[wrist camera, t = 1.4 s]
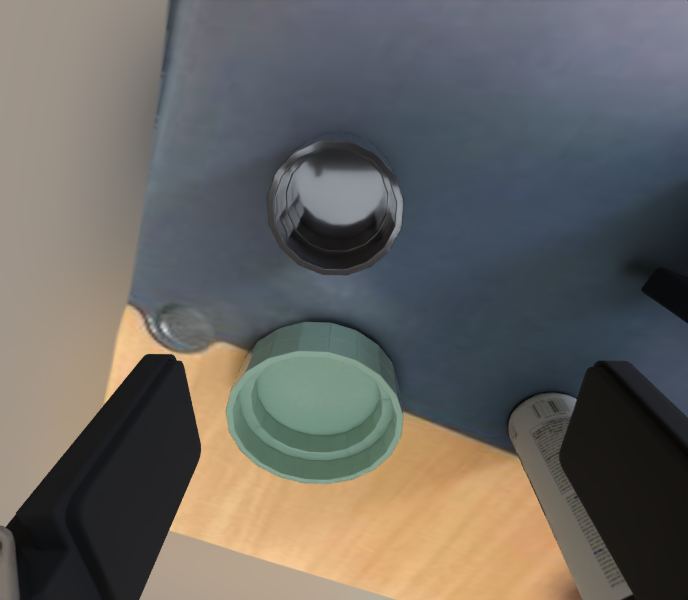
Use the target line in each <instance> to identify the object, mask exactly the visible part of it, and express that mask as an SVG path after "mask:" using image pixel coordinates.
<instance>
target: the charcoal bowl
mask: <svg viewBox="0 0 688 600" xmlns="http://www.w3.org/2000/svg"><path fill="white" fill-rule="evenodd" d="M403 207H404V199H403V196H402V193H401V190H400V187H399V184H398V181H397V178H396V175H395V173H394V171H393V169H392V167H391V165H390V163H389V161H388V160H387V159H386V157H385V156H384V155H383V154H382V153H381V152H380V151H379V149H378V148H377V147H376V146H375V145H374V144H373V143H371V142H369V141H367V140H365V139H363V138H361V137H359V136H356V135H354V134H352V133H324V134H322V135H320V136H317V137H315V138H313V139H310V140H308V141H306V142H304V143H303V144H302V145H301V146H300V147H299V148H298V149H297V150H295V151H294V152H293V153H292V155H291V156H290V157H289V158H288V159H287V160H286V161H285V162H284V163H283V164H282V165H281V167H280V168H279V169H278V170H277V171H276V173H275V175H274V178H273V181H272V184H271V187H270V189H269V192H268V195H267V210H268V223H269V226H270V228H271V230H272V232H273V235H274V237H275V239H276V241H277V243H278V245H279V247H280V248H281V249H282V250H283V251H284V252H285V253H286V254H287V255H288V256H289V257H291V258H292V259H293V260H294V261H295V262H296V263H297V264H298V265H300V266H302V267H304V268H307V269H309V270H312V271H314V272H317V273H319V274H323V275H350V274H352V273H355V272H358V271H361V270H364V269H366V268H369V267H371V266H373V265H374V264H375V263H376V262H377V261H378V260H379V259H381V258H382V257H383V256H384V255H385V254H386V253H388V252H389V251H390V249H391V247H392V246H393V244H394V242H395V240H396V238H397V236H398V234H399V232H400V230H401V227H402V219H403Z"/></svg>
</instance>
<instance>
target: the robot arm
mask: <svg viewBox="0 0 688 600" xmlns="http://www.w3.org/2000/svg"><path fill="white" fill-rule="evenodd" d="M200 454H201V443H200V439H199V434H198V429H197V425H196V420H195V415H194V411H193V406H192V401H191V397H190V392H189V387H188V383H187V378H186V373H185V369H184V365H183V363H182V361H177V360H176V358H175V356H174V355H172V354H147V355H145V356H144V357H143V358H142V359H141V360H140V362H139V363H138V364H137V365H136V367H135V368H134V369H133V370H132V372H131V373H130V374H129V375H128V376H127V378H126V379H125V380H124V381H123V383H122V384H121V385H120V386H119V387H118V389H117V390H116V391H115V392H114V394H113V395H112V396H111V397H110V398H109V400H108V401H107V402H106V403H105V405H104V406H103V407H102V408H101V409H100V411H99V412H98V413H97V414H96V416H95V417H94V418H93V419H92V420H91V422H90V423H89V424H88V425H87V427H86V428H85V429H84V430H83V431H82V433H81V434H80V435H79V436H78V438H77V439H76V440H75V441H74V443H73V444H72V445H71V446H70V448H69V449H68V450H67V451H66V452H65V453H64V455H63V456H62V457H61V458H60V460H59V461H58V462H57V463H56V465H55V466H54V467H53V468H52V469H51V471H50V472H49V473H48V474H47V476H46V477H45V478H44V479H43V480H42V482H41V483H40V484H39V485H38V487H37V488H36V489H35V490H34V491H33V493H32V494H31V495H30V497H29V498H28V499H27V500H26V501H25V502H24V504H23V505H22V506H21V507H20V509H19V510H18V511H17V512H16V515H15V516H14V517H13V519H12V520H11V521H10V522H9V524H8V525H7V526H6V527H4V526H0V600H139V599H140V597H141V594H142V592H143V590H144V587H145V585H146V582H147V580H148V578H149V575H150V573H151V571H152V569H153V566H154V564H155V562H156V559H157V557H158V555H159V552H160V550H161V547H162V545H163V543H164V541H165V538H166V536H167V534H168V531H169V529H170V527H171V524H172V522H173V520H174V517H175V515H176V513H177V510H178V508H179V506H180V503H181V501H182V499H183V496H184V494H185V492H186V489H187V487H188V485H189V482H190V480H191V478H192V475H193V473H194V471H195V468H196V466H197V464H198V461H199V459H200ZM559 461H560V465H561V467H562V469H563V471H564V473H565V475H566V476H567V478H568V480H569V482H570V483H571V485H572V487H573V489H574V491H575V492H576V494H577V496H578V498H579V499H580V501H581V503H582V505H583V506H584V508H585V510H586V512H587V514H588V515H589V517H590V519H591V521H592V522H593V524H594V526H595V528H596V530H597V531H598V533H599V535H600V537H601V538H602V540H603V542H604V544H605V545H606V547H607V549H608V551H609V553H610V554H611V556H612V558H613V560H614V561H615V563H616V565H617V567H618V569H619V570H620V572H621V574H622V576H623V577H624V579H625V581H626V583H627V584H628V586H629V588H630V590H631V592H632V593H633V595H634V597H635V599H636V600H688V418H687V417H686V416H685V415H684V414H683V413H682V412H681V411H680V410H679V409H678V408H677V407H676V406H675V405H674V404H673V403H672V402H671V401H670V400H669V399H668V398H667V397H665V396H664V395H663V394H662V393H661V392H660V391H659V390H658V389H657V388H656V387H655V386H654V385H653V384H652V383H651V382H650V381H649V380H648V379H647V378H646V377H644V376H643V375H642V374H641V373H640V372H639V371H638V370H637V369H636V368H635V367H634V366H633V365H632V364H630V363H629V362H626V361H598V362H596V363H595V364H594V366H593V367H590V368H588V369H587V371H586V373H585V376H584V379H583V382H582V385H581V388H580V391H579V394H578V397H577V400H576V403H575V406H574V409H573V412H572V415H571V418H570V421H569V424H568V427H567V430H566V433H565V436H564V439H563V442H562V445H561V448H560V452H559Z"/></svg>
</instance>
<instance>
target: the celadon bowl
mask: <svg viewBox="0 0 688 600" xmlns="http://www.w3.org/2000/svg"><path fill="white" fill-rule="evenodd" d="M226 416H227V422H228V428H229V432H230V434H231V436H232V438H233V439H234V441H235V443H236V444H237V446H238V448H239V449H240V451H241V452H242V453H243V454H245V455H246V456H247V457H248V458H249V459H250V460H251V461H252V462H254V463H255V464H256V465H257V466H259V467H260V468H262V469H264V470H266V471H268V472H270V473H272V474H274V475H276V476H278V477H281V478H285V479H289V480H293V481H297V482H301V483H313V484H332V483H337V482H342V481H348V480H352V479H355V478H357V477H359V476H362V475H364V474H366V473H368V472H370V471H373V470H374V469H376V468H377V467H378V466H379V465H380V464H381V463H383V462H384V461H385V460H386V459H387V458H388V457H389V456H390V455H391V454H392V452H393V451H394V449H395V447H396V445H397V443H398V442H399V440H400V438H401V434H402V425H403V410H402V403H401V396H400V389H399V382H398V379H397V376H396V373H395V369H394V366H393V363H392V362H391V360H390V359H389V358H388V356H387V355H386V354H385V353H384V351H383V350H382V349H381V348H380V346H379V345H377V344H376V343H375V342H373V341H372V340H370V339H369V338H367V337H366V336H364V335H363V334H361V333H360V332H358V331H356V330H354V329H350V328H347V327H344V326H341V325H337V324H334V323H328V322H301V323H297V324H294V325H290V326H286V327H282V328H279V329H277V330H275V331H274V332H272V333H271V334H269V335H267V336H266V337H264V338H263V339H261V340H259V341H258V342H257V343H256V344H255V346H254V347H253V348H252V350H251V351H250V352H249V353H248V355H247V356H246V357H245V359H244V361H243V364H242V366H241V368H240V371H239V373H238V375H237V378H236V380H235V382H234V385H233V387H232V389H231V393H230V396H229V400H228V404H227V408H226Z"/></svg>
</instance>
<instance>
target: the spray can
mask: <svg viewBox="0 0 688 600" xmlns="http://www.w3.org/2000/svg"><path fill="white" fill-rule="evenodd" d="M576 400H577V399H575V398H574V397H572V396H570V395H566V394H560V393H542V394H537V395H535V396H533V397H531V398H530V399H528V400H526V401H524V402H523V403H521V404H520V405H519V406H518V407H517V408H516V409H515V410H514V411H513V412H512V414H511V417H510V419H509V436H510V439H511V441H512V443H513V446H514V448H515V450H516V452H517V455H518V457H519V459H520V461H521V464H522V466H523V469H524V471H525V472H526V474H527V476H528V479H529V481H530V483H531V485H532V488H533V490H534V492H535V494H536V496H537V499H538V501H539V503H540V505H541V508H542V510H543V512H544V514H545V516H546V519H547V521H548V523H549V525H550V528H551V530H552V532H553V534H554V537H555V539H556V541H557V543H558V546H559V548H560V550H561V552H562V555H563V557H564V559H565V561H566V563H567V566H568V568H569V570H570V573H571V575H572V577H573V579H574V581H575V584H576V586H577V588H578V590H579V593H580V595H581V597H582V599H583V600H636V599H635V597H634V595H633V593H632V592H631V590H630V588H629V586H628V584H627V583H626V581H625V579H624V577H623V576H622V574H621V572H620V570H619V569H618V567H617V565H616V563H615V561H614V560H613V558H612V556H611V554H610V553H609V551H608V549H607V547H606V545H605V544H604V542H603V540H602V538H601V537H600V535H599V533H598V531H597V530H596V528H595V526H594V524H593V522H592V521H591V519H590V517H589V515H588V514H587V512H586V510H585V508H584V506H583V505H582V503H581V501H580V499H579V498H578V496H577V494H576V492H575V491H574V489H573V487H572V485H571V483H570V482H569V480H568V478H567V476H566V475H565V473H564V471H563V469H562V467H561V465H560V461H559V452H560V448H561V445H562V442H563V439H564V436H565V433H566V430H567V427H568V424H569V421H570V418H571V415H572V412H573V409H574V406H575V403H576Z"/></svg>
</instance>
